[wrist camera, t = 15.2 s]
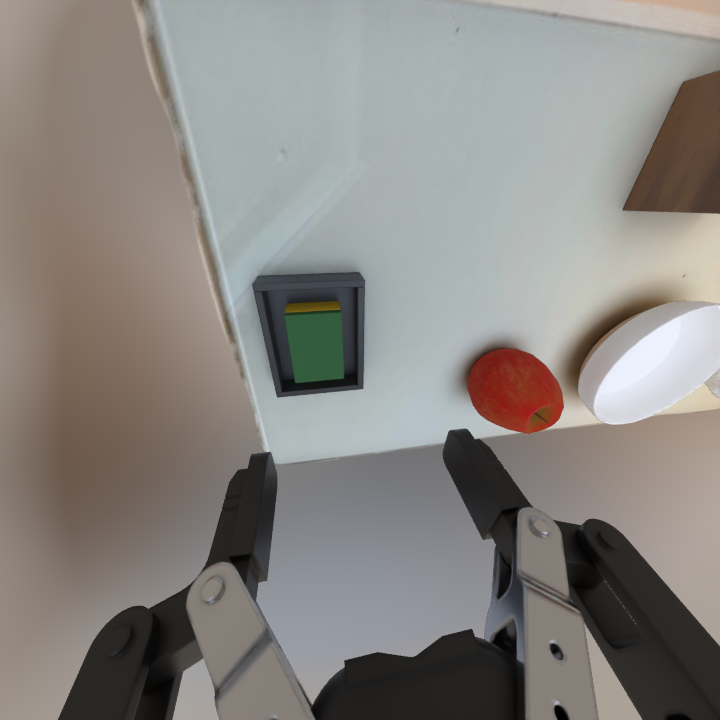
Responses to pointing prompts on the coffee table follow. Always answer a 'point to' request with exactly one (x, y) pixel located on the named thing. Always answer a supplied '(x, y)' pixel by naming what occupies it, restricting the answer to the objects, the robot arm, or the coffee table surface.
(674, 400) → the bowl
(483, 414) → the apple
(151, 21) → the coffee table surface
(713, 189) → the wooden block
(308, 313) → the sponge
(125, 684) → the robot arm
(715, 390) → the bust
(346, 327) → the tray
